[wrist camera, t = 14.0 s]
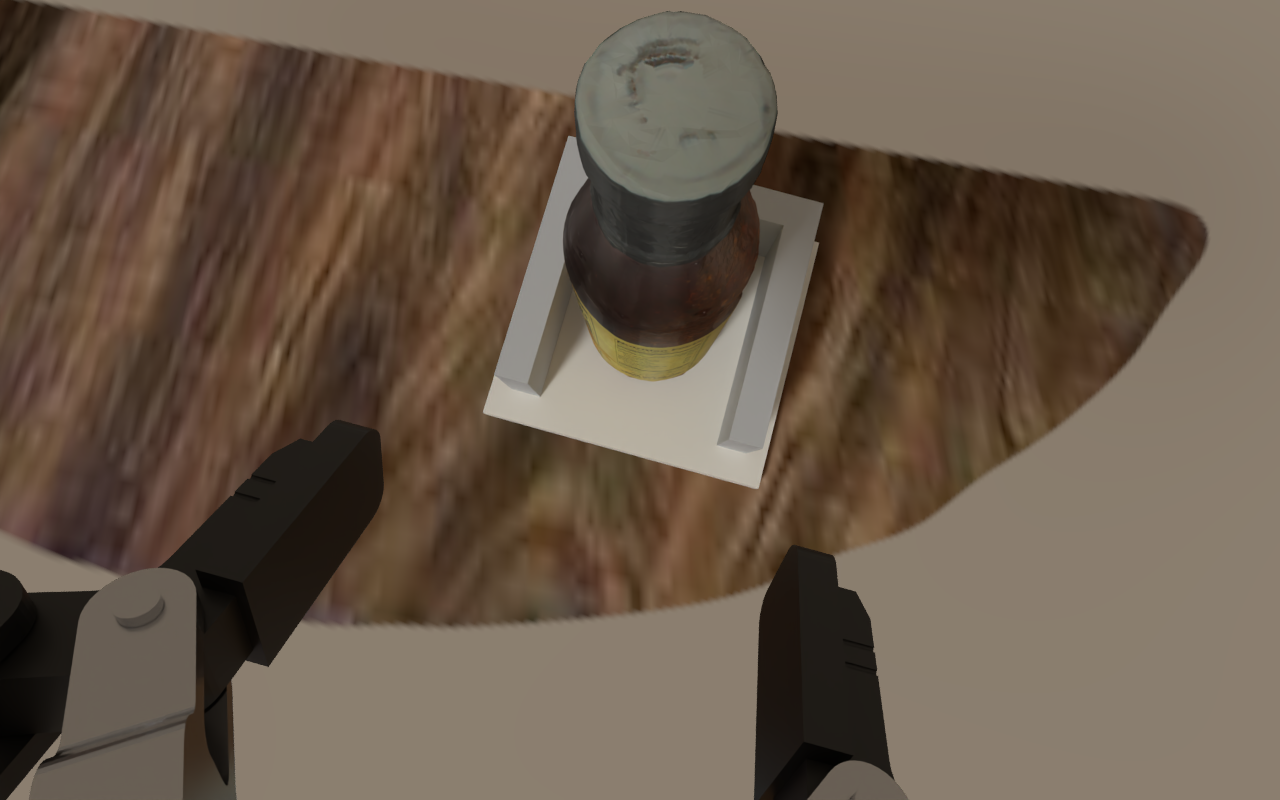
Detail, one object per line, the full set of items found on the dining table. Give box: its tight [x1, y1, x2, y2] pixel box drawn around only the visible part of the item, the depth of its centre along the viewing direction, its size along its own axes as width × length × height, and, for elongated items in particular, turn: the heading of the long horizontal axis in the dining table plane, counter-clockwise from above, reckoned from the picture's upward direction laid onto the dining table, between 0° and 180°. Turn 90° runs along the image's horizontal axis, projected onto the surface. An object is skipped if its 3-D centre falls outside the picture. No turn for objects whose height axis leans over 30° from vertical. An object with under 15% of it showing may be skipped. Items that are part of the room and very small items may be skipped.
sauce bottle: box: [563, 11, 777, 382], centre depth 22 cm, size 7×6×20 cm
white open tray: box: [483, 136, 824, 489], centre depth 31 cm, size 14×13×5 cm
